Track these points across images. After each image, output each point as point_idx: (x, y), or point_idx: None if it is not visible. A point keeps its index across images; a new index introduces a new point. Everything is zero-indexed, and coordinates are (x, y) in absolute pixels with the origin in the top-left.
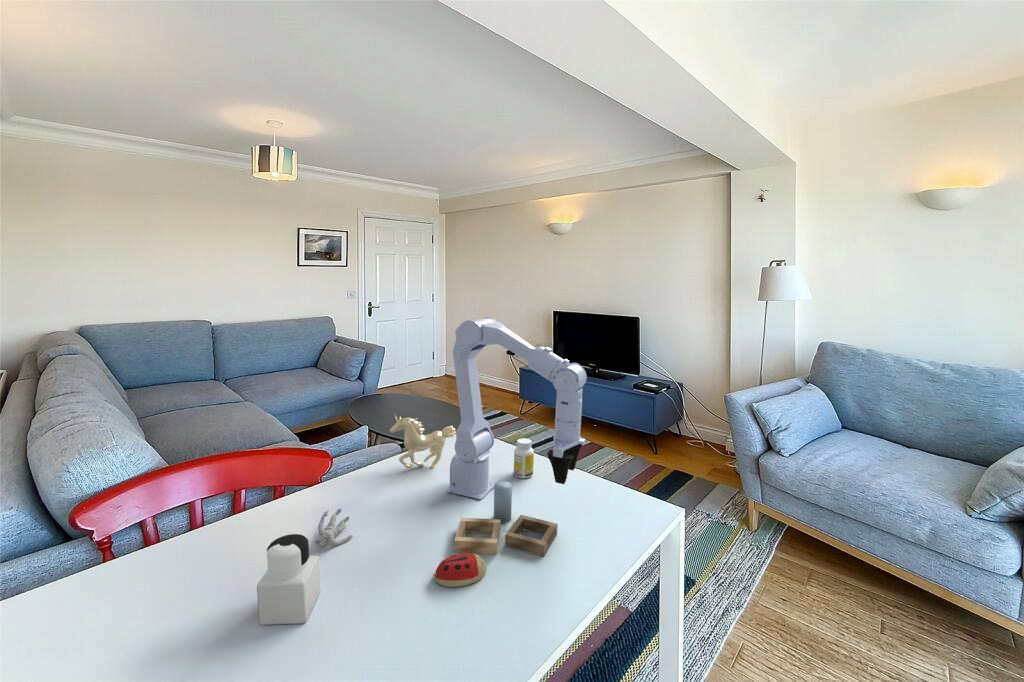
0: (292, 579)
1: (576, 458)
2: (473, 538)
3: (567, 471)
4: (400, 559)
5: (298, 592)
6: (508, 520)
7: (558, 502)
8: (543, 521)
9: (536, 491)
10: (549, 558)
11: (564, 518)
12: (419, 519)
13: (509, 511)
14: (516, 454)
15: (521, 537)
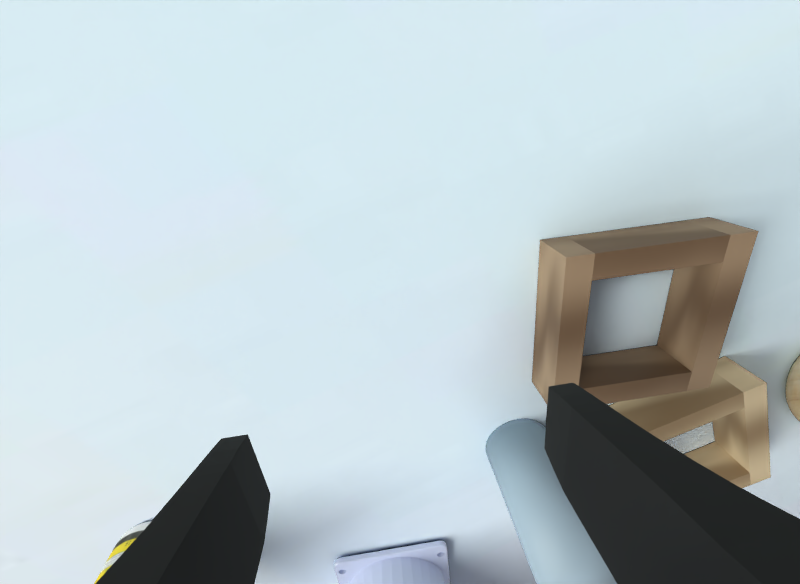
0: None
1: (172, 564)
2: (752, 447)
3: (688, 478)
4: (782, 507)
5: None
6: (532, 424)
7: (279, 347)
8: (569, 319)
9: (257, 452)
10: (713, 194)
11: (396, 267)
12: None
13: (544, 451)
14: None
15: (716, 334)
